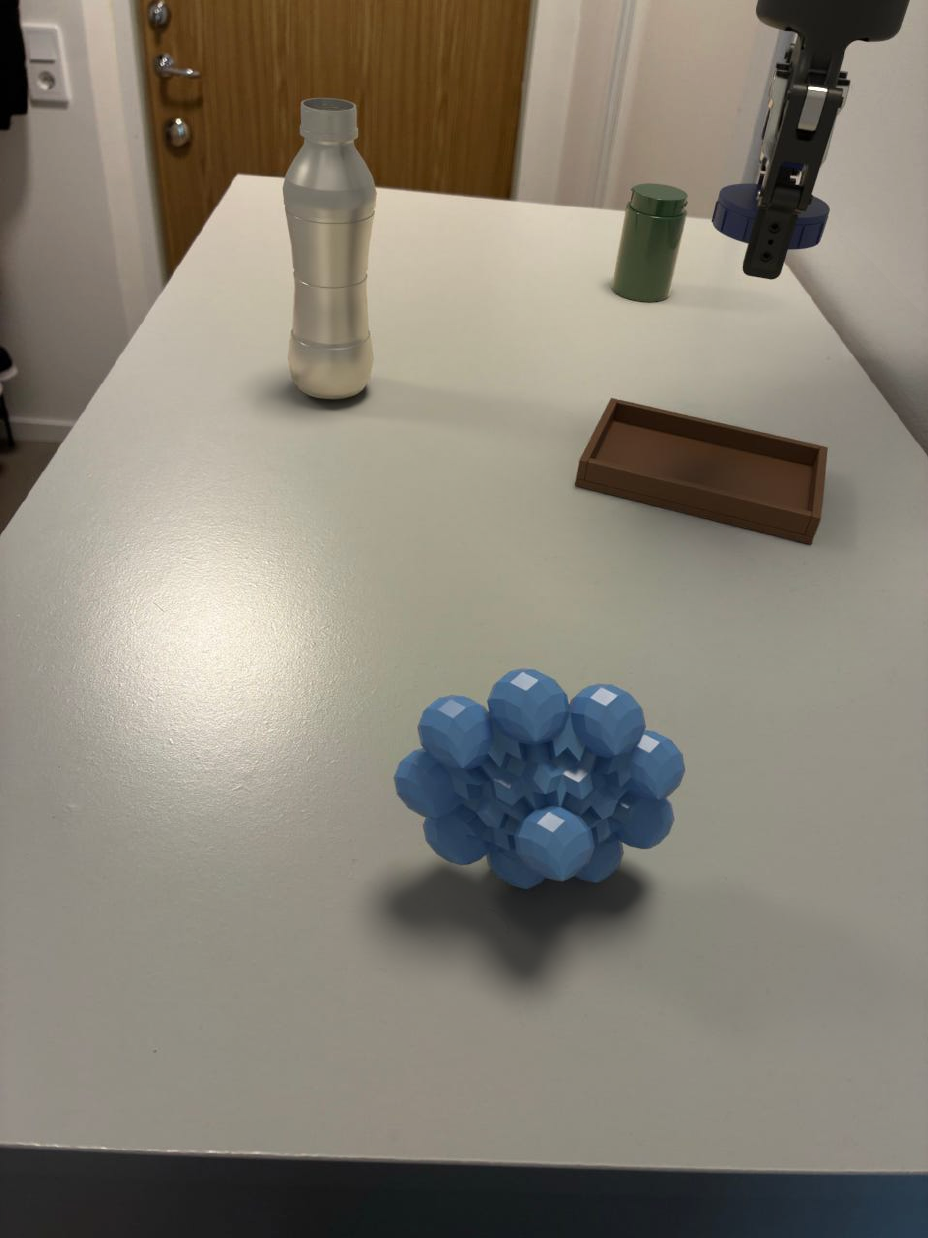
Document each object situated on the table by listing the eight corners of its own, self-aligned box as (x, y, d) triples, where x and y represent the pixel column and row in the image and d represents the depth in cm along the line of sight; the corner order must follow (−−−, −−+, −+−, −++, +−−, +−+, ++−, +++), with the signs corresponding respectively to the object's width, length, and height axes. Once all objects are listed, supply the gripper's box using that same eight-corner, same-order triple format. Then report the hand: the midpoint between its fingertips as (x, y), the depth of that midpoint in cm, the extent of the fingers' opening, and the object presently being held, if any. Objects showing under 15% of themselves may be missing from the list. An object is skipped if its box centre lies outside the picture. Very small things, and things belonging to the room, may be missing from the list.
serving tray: (818, 471, 70) (828, 446, 69) (811, 544, 63) (821, 518, 61) (606, 422, 74) (610, 397, 72) (574, 485, 66) (579, 459, 65)
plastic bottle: (274, 399, 72) (258, 106, 59) (311, 364, 77) (304, 87, 64) (353, 417, 71) (355, 123, 58) (385, 380, 76) (393, 101, 63)
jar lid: (701, 233, 56) (708, 201, 55) (724, 206, 60) (732, 176, 59) (811, 257, 54) (821, 225, 53) (827, 227, 59) (836, 197, 58)
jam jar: (673, 286, 97) (695, 188, 91) (663, 306, 93) (686, 205, 87) (618, 275, 98) (636, 178, 92) (606, 294, 94) (623, 193, 88)
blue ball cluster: (392, 975, 37) (404, 773, 29) (387, 833, 42) (396, 629, 35) (679, 962, 39) (762, 766, 31) (640, 826, 44) (703, 629, 36)
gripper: (778, -95, 53) (705, 212, 64) (779, -82, 43) (691, 286, 53) (916, -79, 52) (818, 231, 63) (952, -62, 42) (827, 309, 52)
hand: (760, 255), depth 58 cm, fingers closed on jar lid, 6 cm apart
